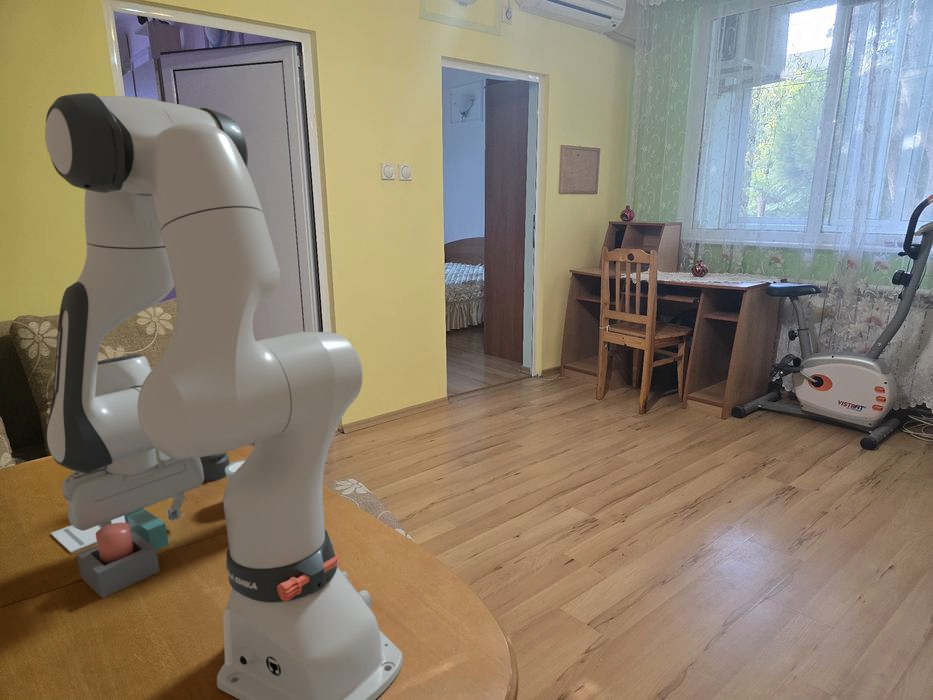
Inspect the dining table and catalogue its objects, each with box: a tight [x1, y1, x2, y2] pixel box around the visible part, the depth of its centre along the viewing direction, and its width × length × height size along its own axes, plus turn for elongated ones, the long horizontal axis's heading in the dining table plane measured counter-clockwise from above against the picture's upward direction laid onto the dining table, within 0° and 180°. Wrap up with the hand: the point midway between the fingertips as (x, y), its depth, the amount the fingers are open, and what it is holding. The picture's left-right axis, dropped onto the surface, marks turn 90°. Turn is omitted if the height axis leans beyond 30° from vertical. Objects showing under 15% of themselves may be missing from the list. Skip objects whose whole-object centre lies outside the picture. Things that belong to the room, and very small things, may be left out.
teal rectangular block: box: [124, 508, 170, 551], centre depth 99 cm, size 9×3×4 cm, turn 51°
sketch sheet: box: [50, 516, 125, 554], centre depth 103 cm, size 10×11×1 cm
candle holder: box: [199, 452, 230, 482], centre depth 121 cm, size 6×6×25 cm
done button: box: [96, 523, 134, 566], centre depth 89 cm, size 4×4×5 cm
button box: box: [76, 532, 160, 599], centre depth 90 cm, size 8×8×4 cm
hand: (146, 530), depth 100 cm, fingers open, 8 cm apart
